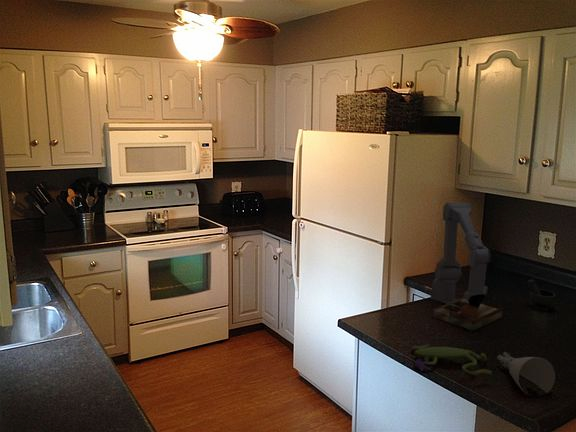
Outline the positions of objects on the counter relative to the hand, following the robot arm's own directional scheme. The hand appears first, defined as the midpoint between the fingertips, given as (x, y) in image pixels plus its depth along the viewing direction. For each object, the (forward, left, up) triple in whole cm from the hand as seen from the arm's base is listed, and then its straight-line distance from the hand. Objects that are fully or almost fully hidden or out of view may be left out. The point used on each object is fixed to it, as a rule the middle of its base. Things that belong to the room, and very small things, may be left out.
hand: (473, 312), depth 202 cm
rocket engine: (+33, -28, -5) cm, 44 cm away
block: (0, -4, -1) cm, 4 cm away
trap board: (-5, +4, -4) cm, 7 cm away
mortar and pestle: (+9, +38, -5) cm, 39 cm away
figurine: (+14, -38, -5) cm, 40 cm away
